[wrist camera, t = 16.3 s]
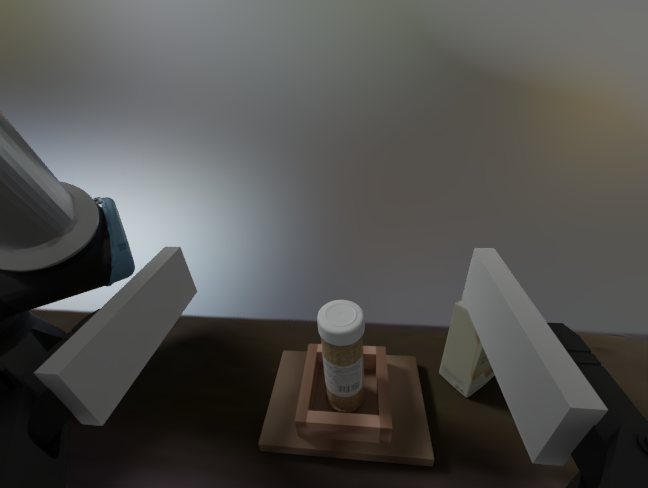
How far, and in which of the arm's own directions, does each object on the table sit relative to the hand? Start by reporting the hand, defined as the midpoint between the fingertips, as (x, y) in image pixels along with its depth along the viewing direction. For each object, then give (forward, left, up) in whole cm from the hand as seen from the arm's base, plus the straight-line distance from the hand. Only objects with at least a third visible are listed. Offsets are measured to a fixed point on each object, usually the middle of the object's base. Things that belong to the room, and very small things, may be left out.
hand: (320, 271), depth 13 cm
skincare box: (+10, +19, -28) cm, 35 cm away
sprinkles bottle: (-3, +9, -26) cm, 28 cm away
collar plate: (-3, +9, -27) cm, 29 cm away
